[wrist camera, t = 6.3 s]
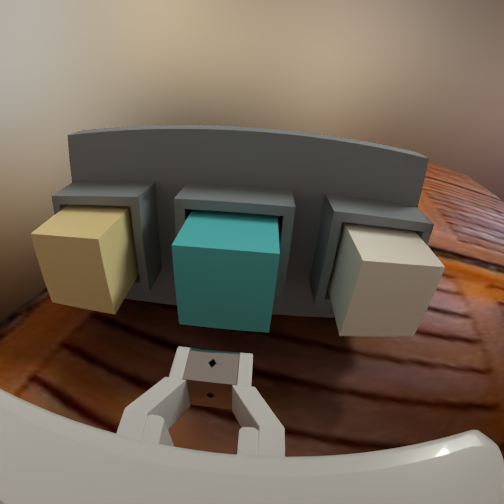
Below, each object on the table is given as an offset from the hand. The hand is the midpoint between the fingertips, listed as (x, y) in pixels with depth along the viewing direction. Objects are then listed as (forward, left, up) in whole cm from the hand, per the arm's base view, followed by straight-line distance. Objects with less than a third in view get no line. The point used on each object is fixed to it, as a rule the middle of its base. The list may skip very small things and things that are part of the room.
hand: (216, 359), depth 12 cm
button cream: (-10, -4, -2) cm, 11 cm away
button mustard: (+7, -8, -2) cm, 11 cm away
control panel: (-2, -10, -7) cm, 12 cm away
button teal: (-1, -6, -2) cm, 7 cm away
